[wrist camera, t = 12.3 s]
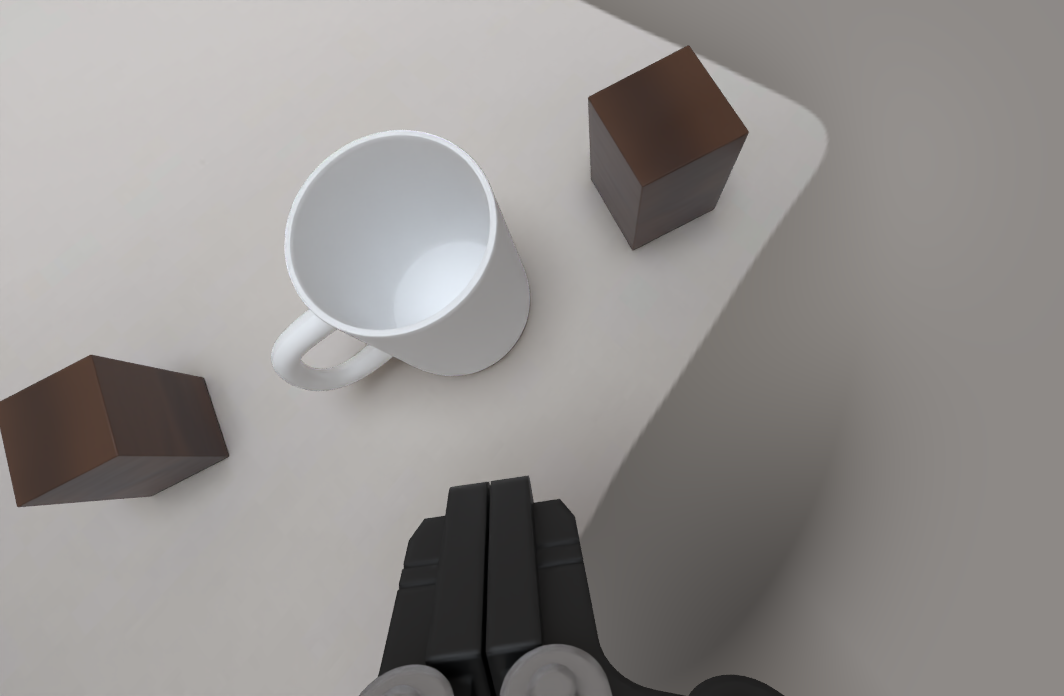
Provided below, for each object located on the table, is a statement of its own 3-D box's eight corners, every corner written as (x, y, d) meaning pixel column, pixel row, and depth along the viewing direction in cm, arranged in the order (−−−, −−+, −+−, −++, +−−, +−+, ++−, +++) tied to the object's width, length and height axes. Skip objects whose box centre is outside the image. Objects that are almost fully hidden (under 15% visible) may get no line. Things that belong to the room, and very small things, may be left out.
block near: (669, 137, 30) (689, 43, 23) (714, 208, 29) (750, 131, 22) (590, 178, 30) (587, 96, 23) (632, 250, 29) (642, 186, 22)
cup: (563, 309, 29) (544, 231, 19) (394, 456, 28) (283, 455, 18) (469, 207, 31) (407, 89, 21) (309, 343, 30) (169, 288, 20)
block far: (203, 377, 31) (90, 353, 24) (229, 456, 29) (118, 455, 23) (128, 416, 31) (-6, 403, 24) (150, 496, 30) (16, 507, 23)
